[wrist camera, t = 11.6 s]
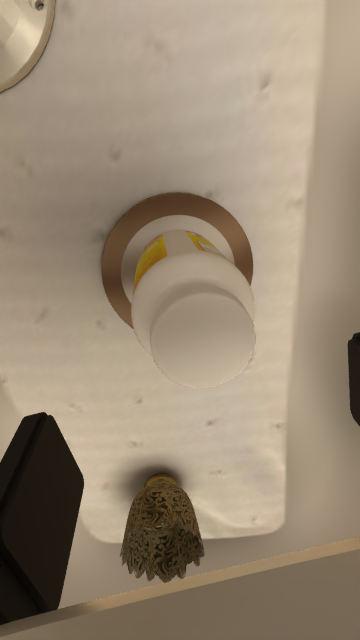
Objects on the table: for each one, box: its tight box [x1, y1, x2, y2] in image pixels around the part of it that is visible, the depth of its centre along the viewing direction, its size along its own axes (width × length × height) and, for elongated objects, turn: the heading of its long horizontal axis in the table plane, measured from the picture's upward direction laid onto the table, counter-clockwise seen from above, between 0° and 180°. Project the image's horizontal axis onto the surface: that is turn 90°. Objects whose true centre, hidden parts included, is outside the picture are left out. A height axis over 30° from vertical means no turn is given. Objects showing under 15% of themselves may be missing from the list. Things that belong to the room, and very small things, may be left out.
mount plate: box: [102, 192, 253, 329], centre depth 28 cm, size 12×12×2 cm
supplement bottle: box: [131, 230, 256, 388], centre depth 21 cm, size 7×7×13 cm
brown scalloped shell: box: [120, 474, 204, 583], centre depth 34 cm, size 8×7×8 cm
